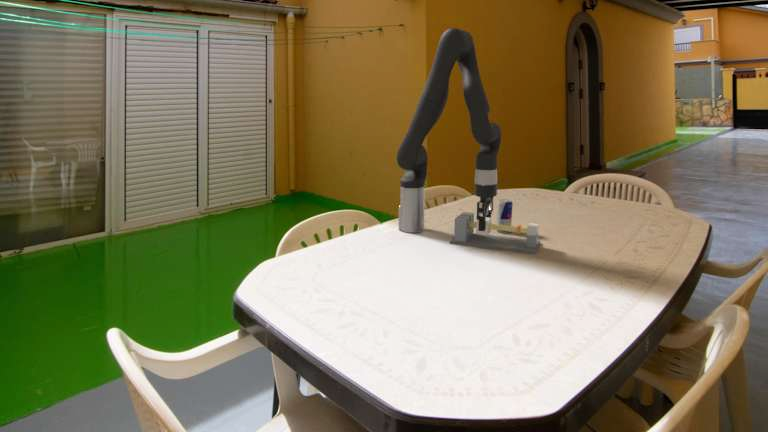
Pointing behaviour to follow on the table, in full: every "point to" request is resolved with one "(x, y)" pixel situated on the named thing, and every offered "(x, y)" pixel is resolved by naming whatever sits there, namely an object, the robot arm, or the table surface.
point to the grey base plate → (498, 243)
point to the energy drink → (504, 213)
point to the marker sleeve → (487, 230)
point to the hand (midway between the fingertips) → (484, 227)
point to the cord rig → (467, 225)
